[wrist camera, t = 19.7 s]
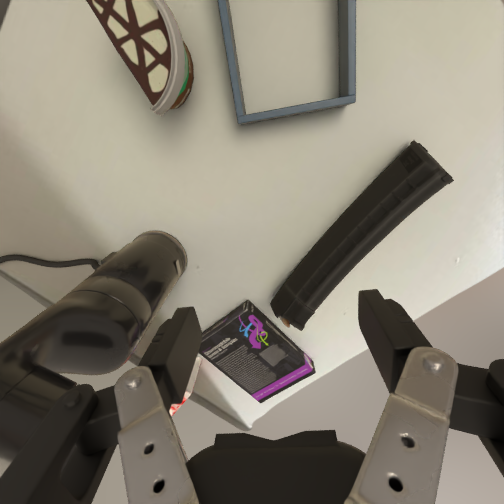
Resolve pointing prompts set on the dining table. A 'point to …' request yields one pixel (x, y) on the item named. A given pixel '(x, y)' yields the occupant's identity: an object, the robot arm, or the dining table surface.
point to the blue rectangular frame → (346, 97)
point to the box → (255, 353)
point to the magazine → (359, 232)
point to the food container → (149, 48)
